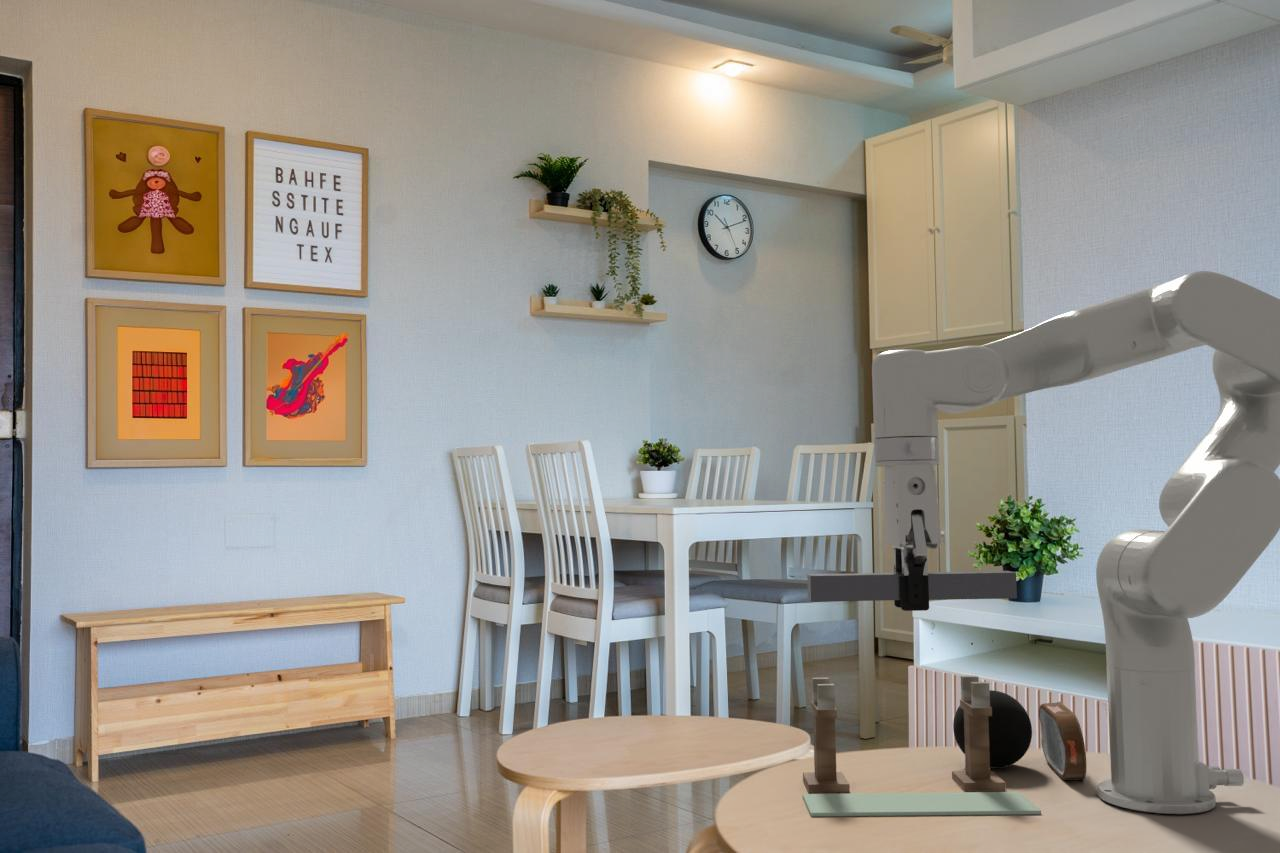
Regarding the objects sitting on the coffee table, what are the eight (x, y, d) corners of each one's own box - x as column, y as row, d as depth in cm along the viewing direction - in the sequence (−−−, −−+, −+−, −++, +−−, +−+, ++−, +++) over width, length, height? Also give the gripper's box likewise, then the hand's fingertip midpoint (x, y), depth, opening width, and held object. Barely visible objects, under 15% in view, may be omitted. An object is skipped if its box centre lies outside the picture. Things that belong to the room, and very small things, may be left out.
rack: (991, 778, 142) (987, 675, 143) (1005, 790, 136) (1001, 683, 137) (802, 780, 143) (800, 677, 144) (808, 792, 137) (806, 685, 138)
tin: (1089, 787, 137) (1086, 718, 138) (1063, 787, 138) (1060, 718, 138) (1061, 759, 152) (1059, 696, 153) (1037, 758, 153) (1035, 696, 153)
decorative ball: (1021, 758, 153) (1019, 684, 154) (1043, 776, 143) (1039, 697, 144) (947, 758, 154) (945, 684, 154) (963, 776, 144) (960, 697, 144)
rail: (1009, 596, 133) (1008, 570, 134) (1017, 598, 130) (1016, 572, 131) (808, 599, 134) (807, 574, 134) (811, 601, 131) (810, 575, 131)
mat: (1019, 795, 134) (1018, 791, 134) (1041, 814, 126) (1041, 810, 126) (802, 797, 135) (802, 794, 135) (811, 816, 127) (810, 812, 127)
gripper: (955, 450, 125) (961, 615, 124) (923, 455, 141) (927, 601, 140) (888, 451, 125) (893, 616, 124) (863, 456, 142) (867, 602, 141)
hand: (911, 607), depth 132 cm, fingers closed on rail, 3 cm apart
